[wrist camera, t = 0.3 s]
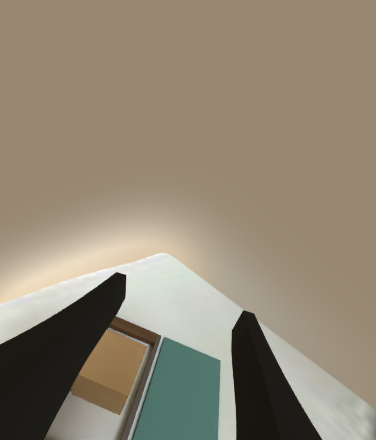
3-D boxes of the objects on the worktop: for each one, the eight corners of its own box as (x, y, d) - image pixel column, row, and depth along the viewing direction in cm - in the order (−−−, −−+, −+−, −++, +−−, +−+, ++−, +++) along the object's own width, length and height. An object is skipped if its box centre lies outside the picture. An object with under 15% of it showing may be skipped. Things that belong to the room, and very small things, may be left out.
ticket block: (119, 415, 19) (128, 396, 15) (72, 394, 19) (68, 369, 15) (136, 371, 22) (147, 346, 18) (96, 354, 22) (98, 325, 18)
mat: (211, 558, 14) (213, 559, 14) (110, 510, 14) (110, 511, 14) (219, 361, 26) (220, 360, 26) (164, 338, 26) (165, 337, 26)
